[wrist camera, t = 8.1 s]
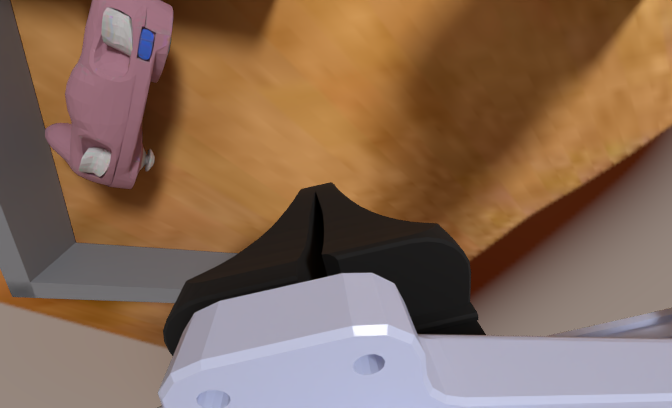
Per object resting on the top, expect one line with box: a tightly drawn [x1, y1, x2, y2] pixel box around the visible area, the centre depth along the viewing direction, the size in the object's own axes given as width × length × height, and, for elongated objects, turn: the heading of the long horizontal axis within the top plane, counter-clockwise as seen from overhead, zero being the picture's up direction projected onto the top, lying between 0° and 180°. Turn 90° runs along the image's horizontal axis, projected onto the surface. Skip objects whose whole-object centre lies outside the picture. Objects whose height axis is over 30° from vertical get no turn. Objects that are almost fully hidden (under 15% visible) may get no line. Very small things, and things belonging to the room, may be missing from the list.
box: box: [0, 0, 237, 303], centre depth 16 cm, size 14×20×4 cm
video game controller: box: [45, 0, 173, 189], centre depth 14 cm, size 10×5×7 cm, turn 153°
